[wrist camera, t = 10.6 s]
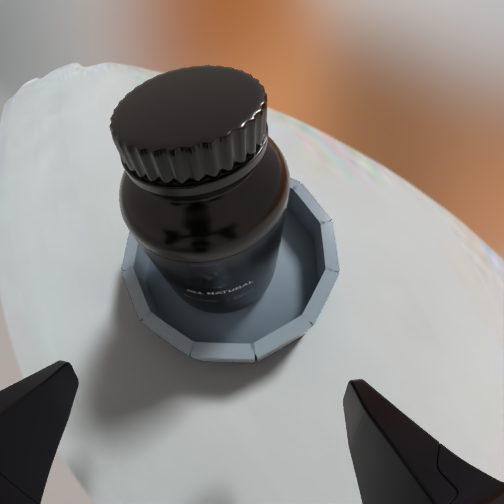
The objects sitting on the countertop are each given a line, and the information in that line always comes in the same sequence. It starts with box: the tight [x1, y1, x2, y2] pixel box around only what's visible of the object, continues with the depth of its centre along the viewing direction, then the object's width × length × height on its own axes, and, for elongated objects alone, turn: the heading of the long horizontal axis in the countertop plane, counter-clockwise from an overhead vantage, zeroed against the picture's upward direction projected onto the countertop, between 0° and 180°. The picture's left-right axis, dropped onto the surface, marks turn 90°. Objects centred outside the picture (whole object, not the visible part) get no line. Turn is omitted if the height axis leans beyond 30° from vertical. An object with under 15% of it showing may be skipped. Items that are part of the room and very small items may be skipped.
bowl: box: [122, 178, 340, 362], centre depth 17 cm, size 13×13×3 cm
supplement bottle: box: [110, 65, 290, 314], centre depth 12 cm, size 7×7×12 cm
